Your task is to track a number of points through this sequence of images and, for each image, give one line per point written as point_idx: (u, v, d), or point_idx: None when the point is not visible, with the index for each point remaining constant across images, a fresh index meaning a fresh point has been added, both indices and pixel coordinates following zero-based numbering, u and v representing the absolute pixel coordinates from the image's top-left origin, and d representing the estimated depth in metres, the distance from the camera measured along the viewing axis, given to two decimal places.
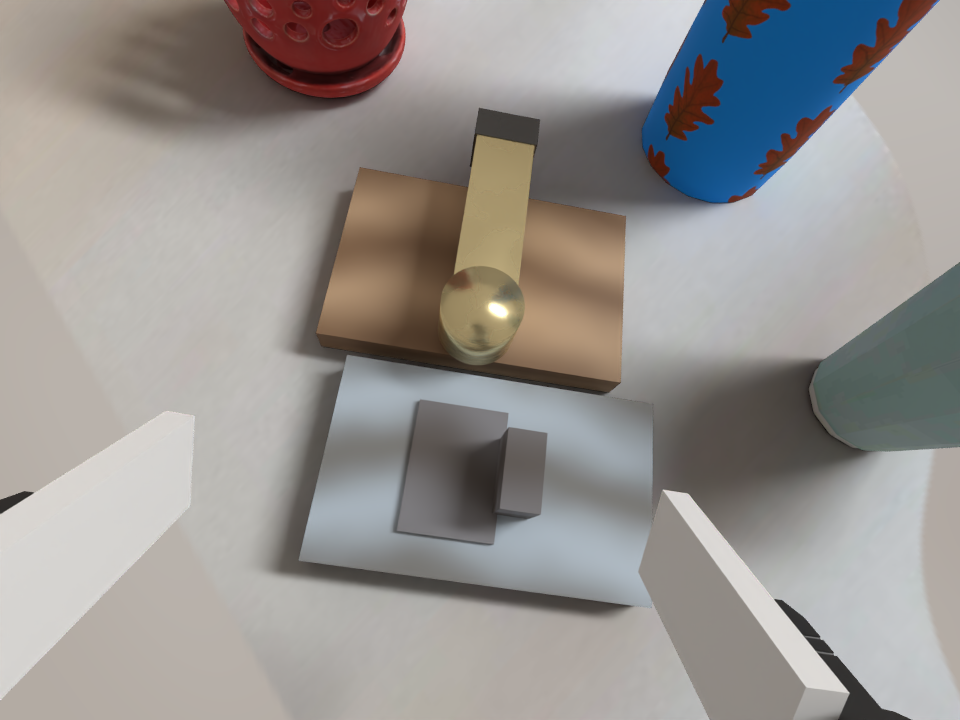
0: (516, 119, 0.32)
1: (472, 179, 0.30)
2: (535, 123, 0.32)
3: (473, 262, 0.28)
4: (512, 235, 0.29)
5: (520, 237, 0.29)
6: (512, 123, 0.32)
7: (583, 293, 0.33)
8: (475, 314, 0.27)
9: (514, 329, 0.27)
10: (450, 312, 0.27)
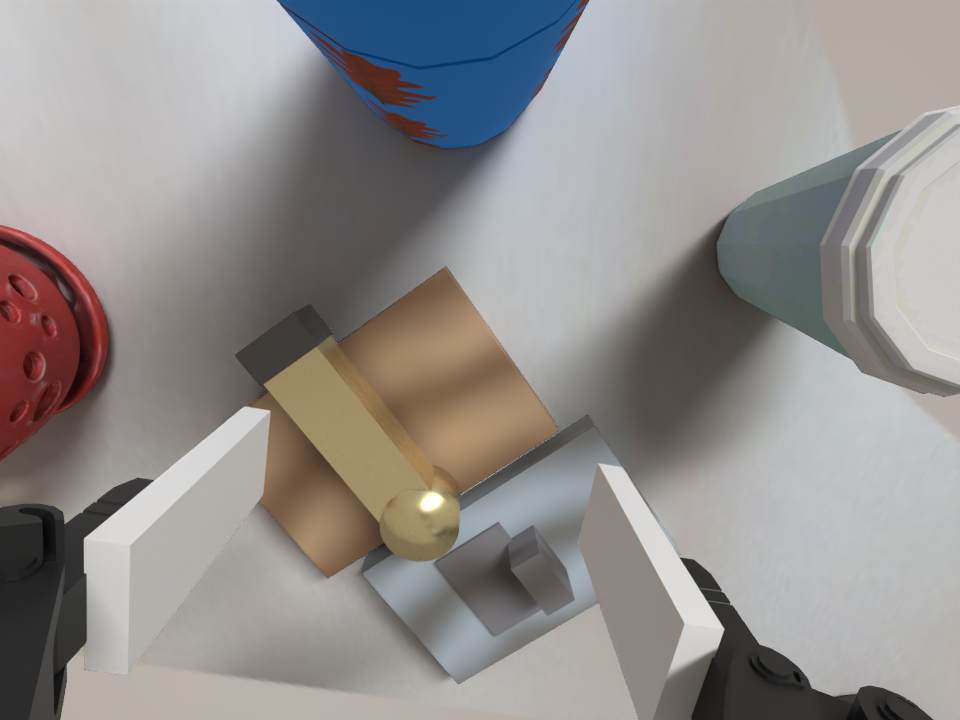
0: (274, 331, 0.27)
1: (307, 432, 0.28)
2: (294, 321, 0.26)
3: (381, 500, 0.29)
4: (385, 452, 0.28)
5: (393, 448, 0.28)
6: (276, 342, 0.27)
7: (472, 384, 0.32)
8: (422, 539, 0.29)
9: (458, 525, 0.29)
10: (405, 552, 0.30)
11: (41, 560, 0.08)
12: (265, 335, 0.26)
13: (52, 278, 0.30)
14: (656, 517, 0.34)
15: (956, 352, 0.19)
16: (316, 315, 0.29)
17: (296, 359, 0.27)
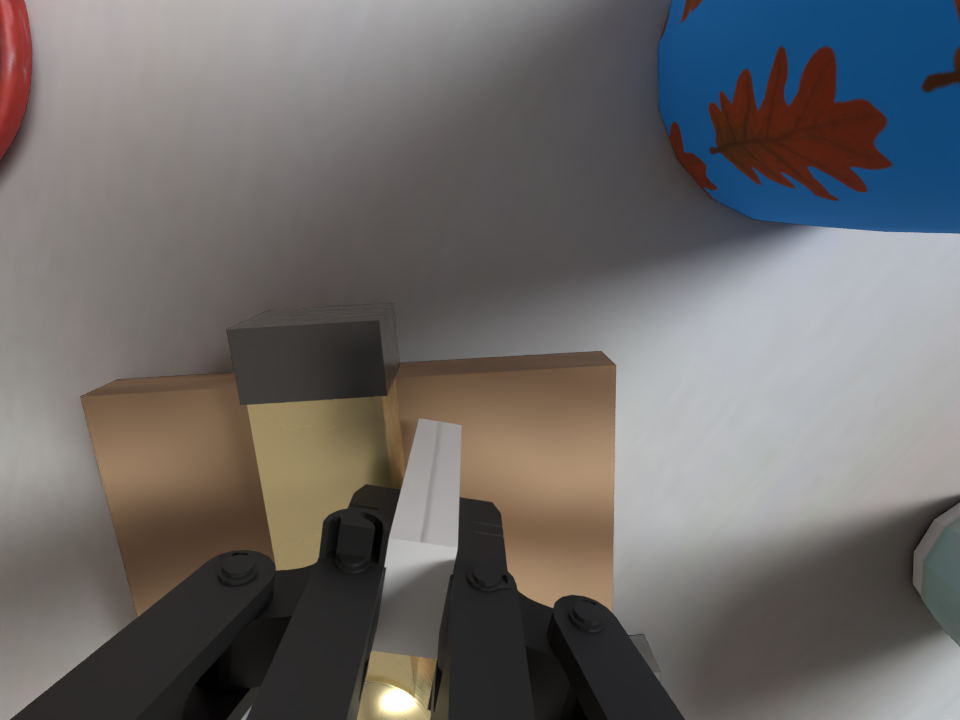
0: (324, 330, 0.13)
1: (274, 518, 0.15)
2: (370, 335, 0.13)
3: None
4: None
5: None
6: (317, 351, 0.13)
7: (544, 537, 0.20)
8: None
9: None
10: None
11: (368, 561, 0.10)
12: (304, 328, 0.13)
13: None
14: None
15: None
16: (394, 327, 0.16)
17: (333, 397, 0.14)
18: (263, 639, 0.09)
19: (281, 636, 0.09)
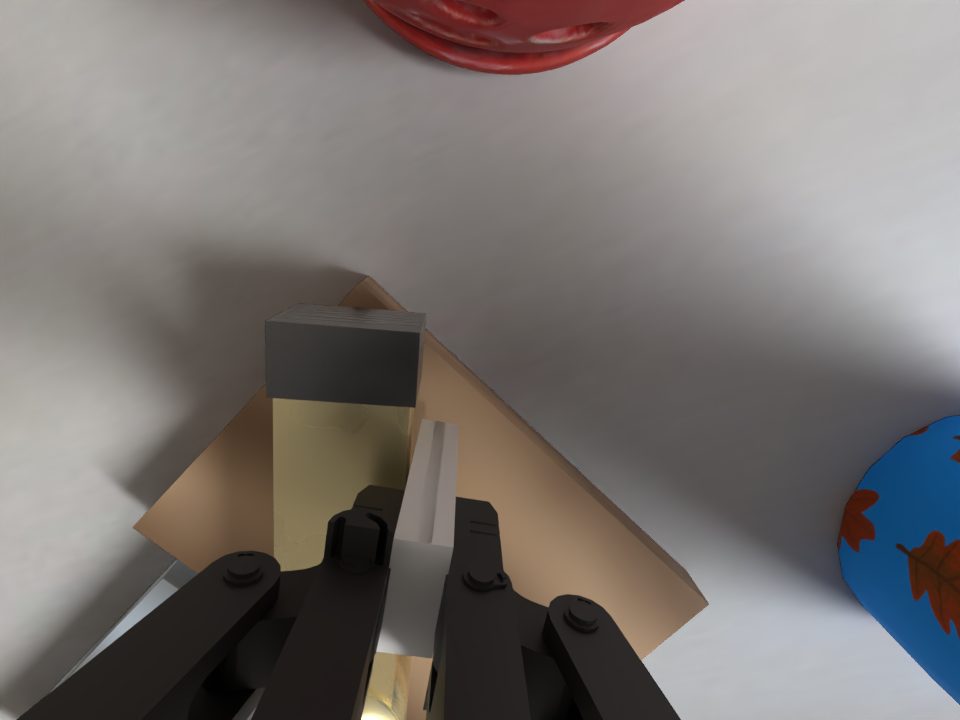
0: (364, 335, 0.13)
1: (280, 514, 0.14)
2: (409, 346, 0.13)
3: None
4: None
5: None
6: (353, 355, 0.13)
7: None
8: None
9: None
10: None
11: (373, 562, 0.10)
12: (344, 330, 0.13)
13: None
14: None
15: None
16: (423, 337, 0.16)
17: (361, 401, 0.14)
18: (269, 640, 0.09)
19: (287, 637, 0.09)
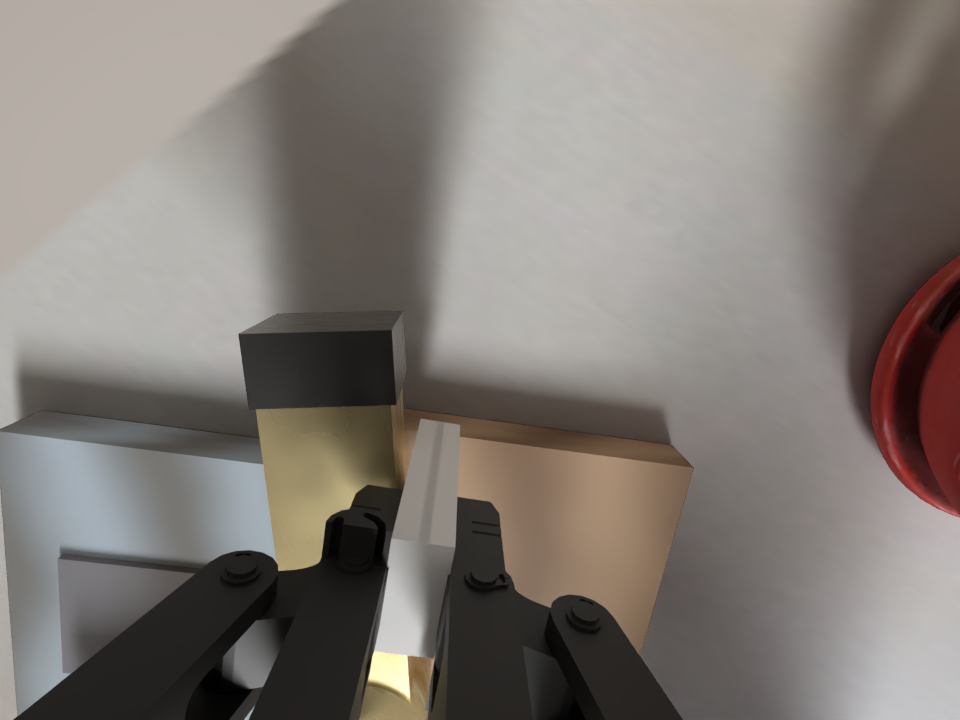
0: (336, 338, 0.13)
1: (277, 523, 0.15)
2: (382, 344, 0.13)
3: None
4: None
5: None
6: (328, 359, 0.13)
7: None
8: None
9: None
10: None
11: (371, 561, 0.10)
12: (317, 335, 0.13)
13: None
14: None
15: None
16: (403, 335, 0.16)
17: (342, 404, 0.14)
18: (266, 639, 0.09)
19: (284, 636, 0.09)
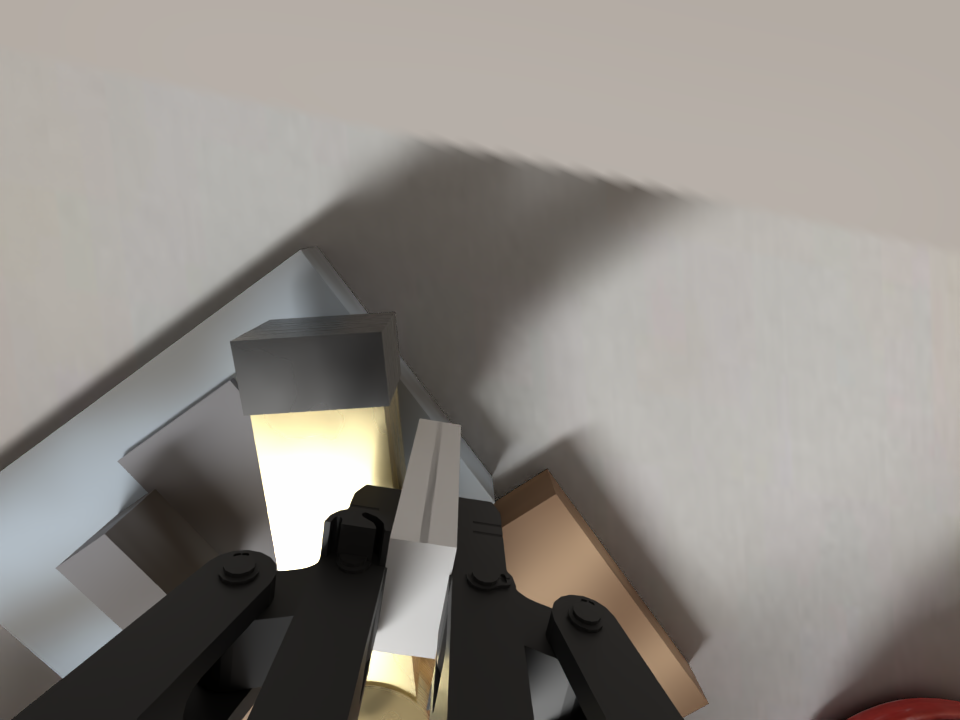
0: (327, 341, 0.13)
1: (277, 527, 0.15)
2: (373, 346, 0.13)
3: None
4: None
5: None
6: (319, 363, 0.13)
7: None
8: None
9: None
10: None
11: (370, 561, 0.10)
12: (307, 340, 0.13)
13: None
14: None
15: None
16: (396, 336, 0.16)
17: (335, 407, 0.14)
18: (264, 640, 0.09)
19: (282, 636, 0.09)
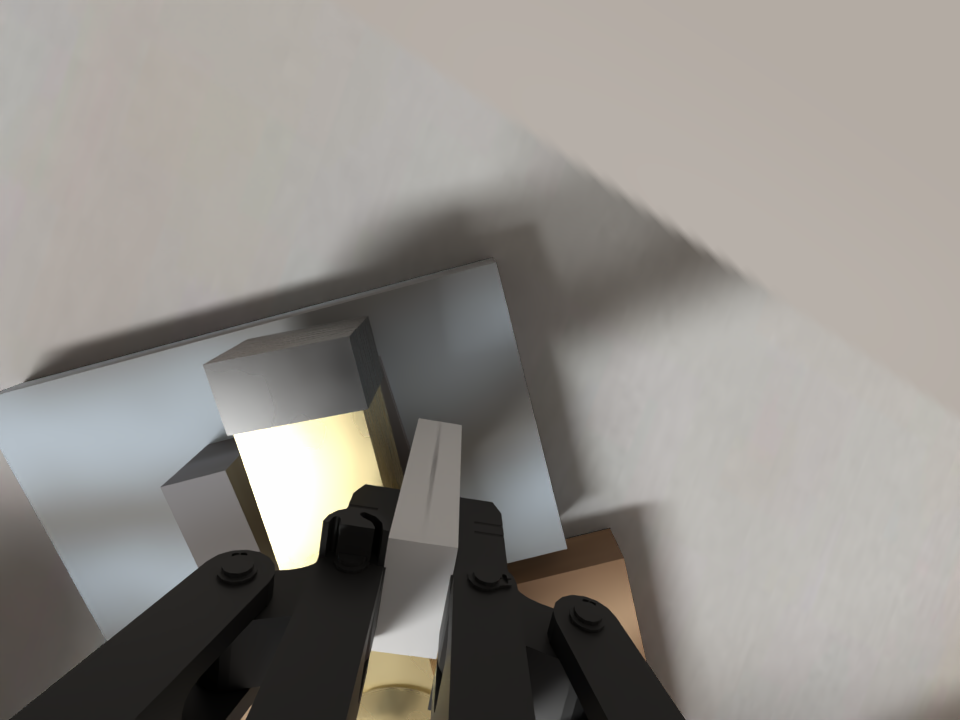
0: (298, 353, 0.14)
1: (277, 541, 0.15)
2: (342, 352, 0.13)
3: None
4: None
5: None
6: (293, 374, 0.14)
7: None
8: None
9: None
10: None
11: (368, 561, 0.10)
12: (278, 353, 0.13)
13: None
14: (22, 486, 0.19)
15: None
16: (372, 339, 0.16)
17: (315, 417, 0.14)
18: (262, 639, 0.09)
19: (281, 635, 0.09)
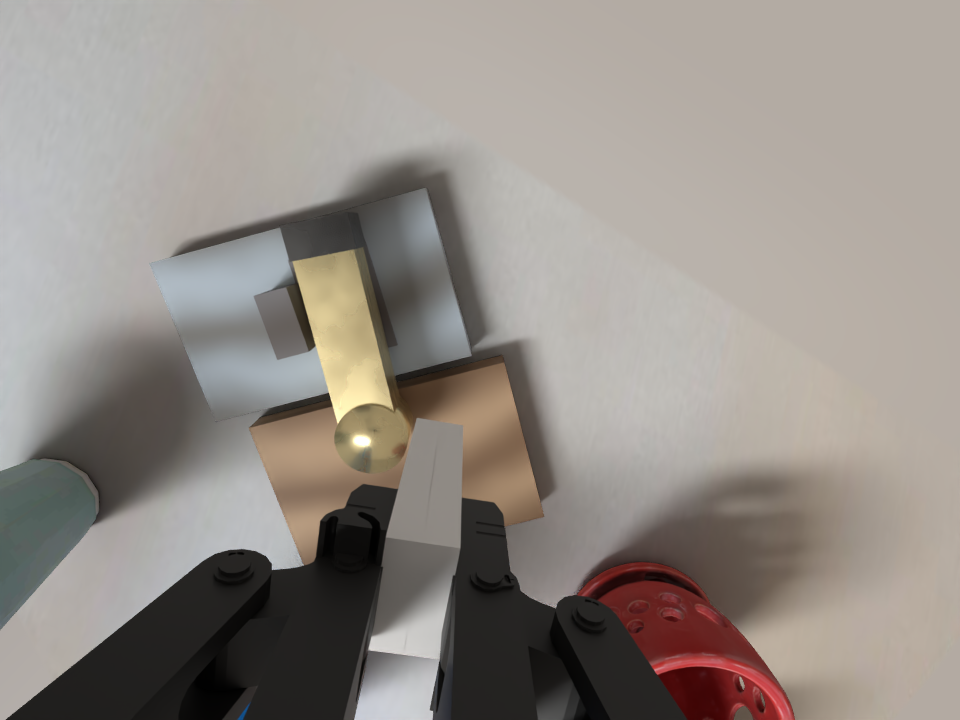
0: (323, 220, 0.29)
1: (311, 319, 0.30)
2: (344, 219, 0.29)
3: (347, 404, 0.32)
4: (370, 365, 0.31)
5: (378, 364, 0.31)
6: (321, 231, 0.29)
7: (311, 489, 0.37)
8: (368, 452, 0.32)
9: (404, 452, 0.32)
10: (348, 457, 0.32)
11: (366, 561, 0.10)
12: (314, 220, 0.29)
13: None
14: (170, 313, 0.34)
15: None
16: (359, 224, 0.31)
17: (331, 252, 0.29)
18: (259, 638, 0.09)
19: (277, 636, 0.09)
